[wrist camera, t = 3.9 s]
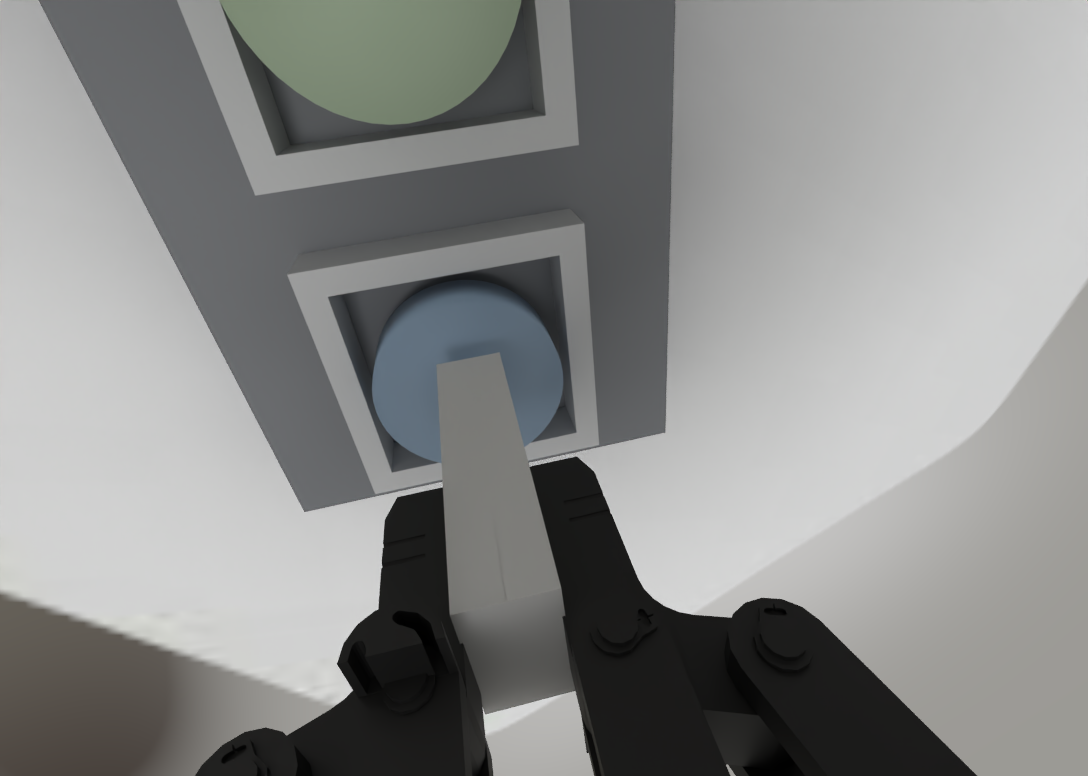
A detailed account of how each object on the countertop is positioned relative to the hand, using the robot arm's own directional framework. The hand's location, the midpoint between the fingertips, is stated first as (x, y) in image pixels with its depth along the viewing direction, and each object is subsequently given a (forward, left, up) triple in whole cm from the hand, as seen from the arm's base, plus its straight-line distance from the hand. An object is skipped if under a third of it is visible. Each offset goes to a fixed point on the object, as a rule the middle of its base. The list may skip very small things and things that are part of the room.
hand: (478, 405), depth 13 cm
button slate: (0, 0, -3) cm, 3 cm away
